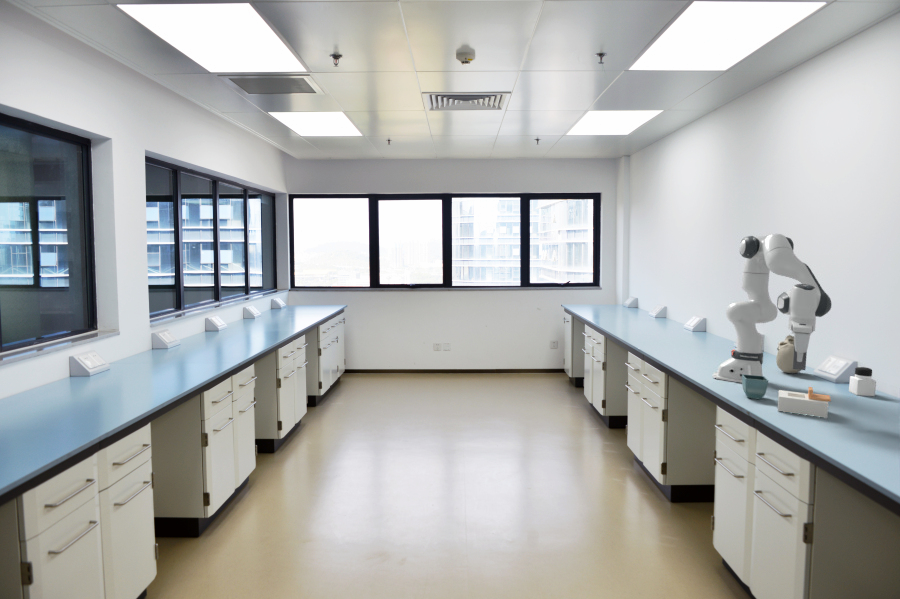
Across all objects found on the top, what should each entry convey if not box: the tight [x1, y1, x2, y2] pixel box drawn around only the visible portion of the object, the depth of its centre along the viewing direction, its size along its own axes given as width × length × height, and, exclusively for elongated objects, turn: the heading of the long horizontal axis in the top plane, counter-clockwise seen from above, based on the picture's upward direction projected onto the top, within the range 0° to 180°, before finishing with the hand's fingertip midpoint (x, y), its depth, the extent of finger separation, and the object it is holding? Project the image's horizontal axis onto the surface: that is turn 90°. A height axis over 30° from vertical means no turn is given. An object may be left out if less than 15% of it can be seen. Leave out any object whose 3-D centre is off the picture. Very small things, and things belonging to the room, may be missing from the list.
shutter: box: [807, 386, 832, 403], centre depth 210 cm, size 7×7×3 cm
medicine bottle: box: [848, 366, 877, 397], centre depth 241 cm, size 7×7×12 cm
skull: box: [775, 334, 802, 374], centre depth 280 cm, size 13×15×20 cm
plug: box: [792, 345, 808, 371], centre depth 213 cm, size 4×4×12 cm
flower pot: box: [741, 375, 769, 400], centre depth 233 cm, size 9×9×9 cm
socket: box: [777, 389, 829, 419], centre depth 214 cm, size 16×12×6 cm
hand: (799, 360), depth 213 cm, fingers closed on plug, 4 cm apart
